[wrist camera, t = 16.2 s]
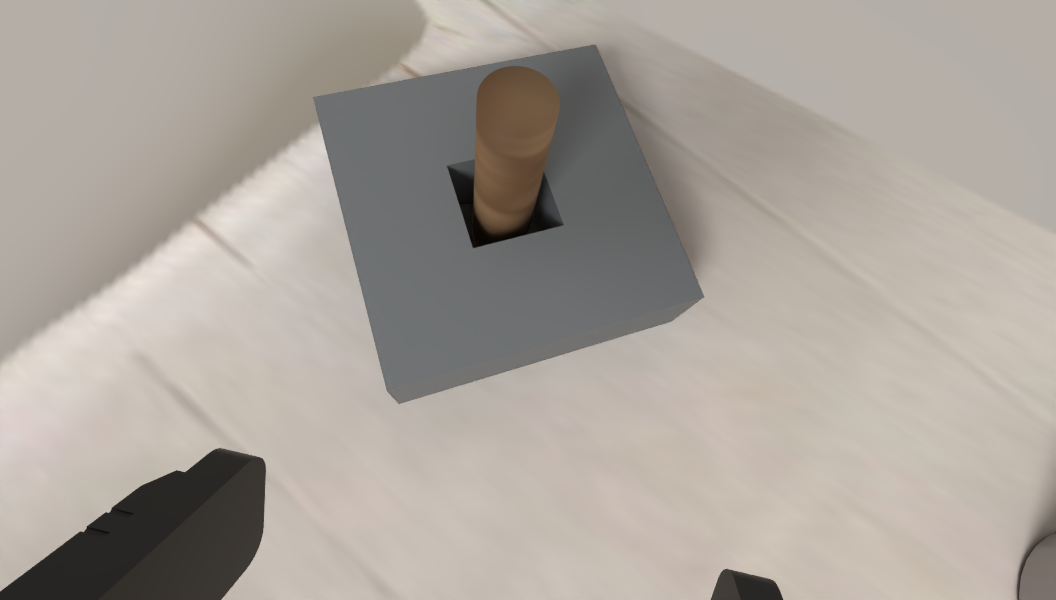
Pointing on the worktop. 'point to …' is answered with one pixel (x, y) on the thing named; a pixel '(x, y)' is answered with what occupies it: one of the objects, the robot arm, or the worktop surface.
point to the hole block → (507, 266)
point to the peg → (511, 150)
